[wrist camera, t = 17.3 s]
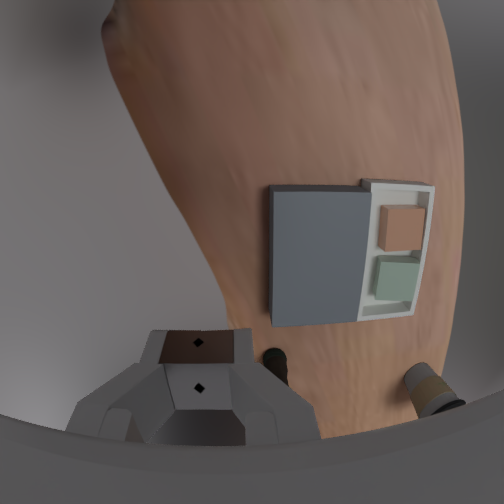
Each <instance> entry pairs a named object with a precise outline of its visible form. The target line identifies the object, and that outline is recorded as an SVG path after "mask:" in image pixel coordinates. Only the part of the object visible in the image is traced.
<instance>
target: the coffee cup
mask: <svg viewBox="0 0 504 504" xmlns="http://www.w3.org/2000/svg"><path fill="white" fill-rule="evenodd" d="M404 381H405V384H406V386H407V389H408V391H409V393H410V397H411V400H412V403H413V405H414V408H415V410H416V413H417V416H418V418H419V419H420V418H424V417H427V416H431V415H434V414H437V413H441V412H444V411H447V410H450V409H453V408H456V407H459V406H462V405H465V404H466V402H465V401H464V400H461V399H459V398H458V397H457V396H456V394H455V393H454V392H453V390H452V389H451V388H450V387H449V386H448V385H447V384H446V383H445V382H444V380H443V379H442V378H441V377H440V376H438V375H437V374H436V373H435V372H434V371H433V370H432V369H431V368H430V366H429V365H428V364H426V363H418V364H416V365H414V366H413V367H412V368H411V369H409V371H408V372H407V373H406V375H405V377H404Z"/></svg>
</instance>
